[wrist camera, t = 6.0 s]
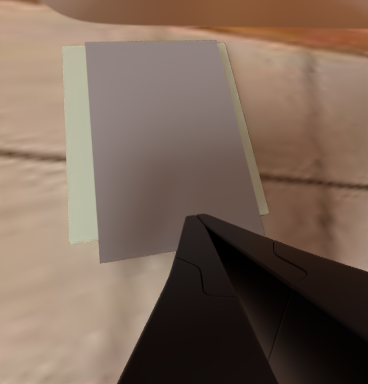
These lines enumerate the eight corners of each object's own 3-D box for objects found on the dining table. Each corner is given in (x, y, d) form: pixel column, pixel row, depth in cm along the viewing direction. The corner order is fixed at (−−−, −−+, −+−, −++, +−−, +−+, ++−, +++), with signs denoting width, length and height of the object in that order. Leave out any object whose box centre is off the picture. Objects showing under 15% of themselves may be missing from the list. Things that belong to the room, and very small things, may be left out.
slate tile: (265, 235, 13) (216, 40, 16) (100, 263, 11) (84, 42, 15) (242, 239, 16) (206, 76, 20) (112, 261, 15) (97, 80, 18)
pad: (265, 214, 17) (269, 213, 17) (72, 244, 15) (69, 243, 15) (222, 48, 21) (224, 43, 21) (64, 52, 19) (62, 45, 18)
